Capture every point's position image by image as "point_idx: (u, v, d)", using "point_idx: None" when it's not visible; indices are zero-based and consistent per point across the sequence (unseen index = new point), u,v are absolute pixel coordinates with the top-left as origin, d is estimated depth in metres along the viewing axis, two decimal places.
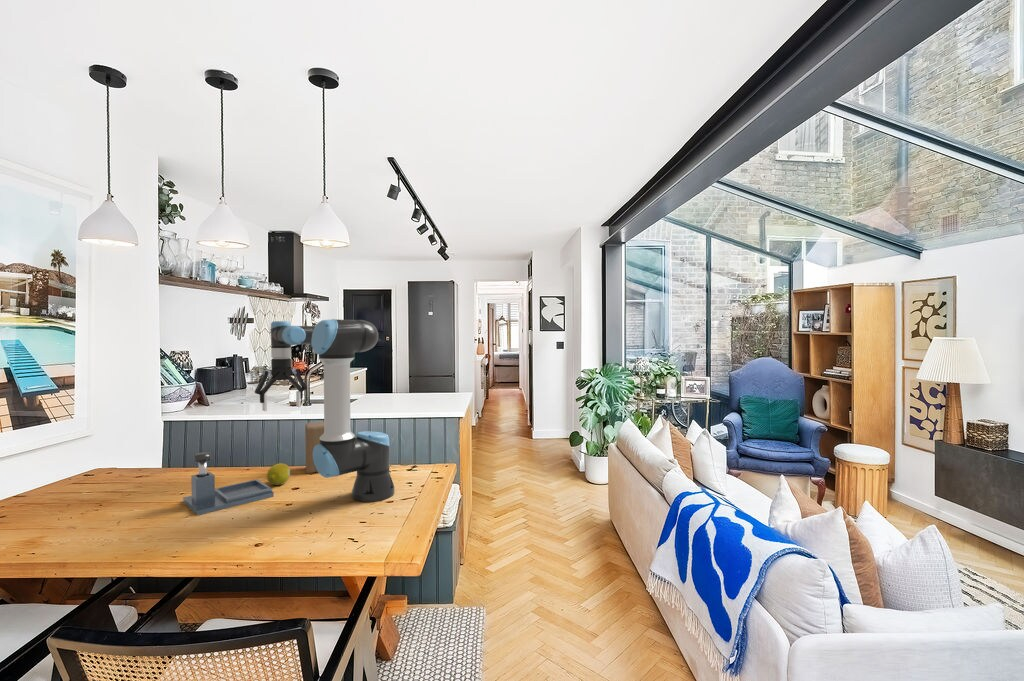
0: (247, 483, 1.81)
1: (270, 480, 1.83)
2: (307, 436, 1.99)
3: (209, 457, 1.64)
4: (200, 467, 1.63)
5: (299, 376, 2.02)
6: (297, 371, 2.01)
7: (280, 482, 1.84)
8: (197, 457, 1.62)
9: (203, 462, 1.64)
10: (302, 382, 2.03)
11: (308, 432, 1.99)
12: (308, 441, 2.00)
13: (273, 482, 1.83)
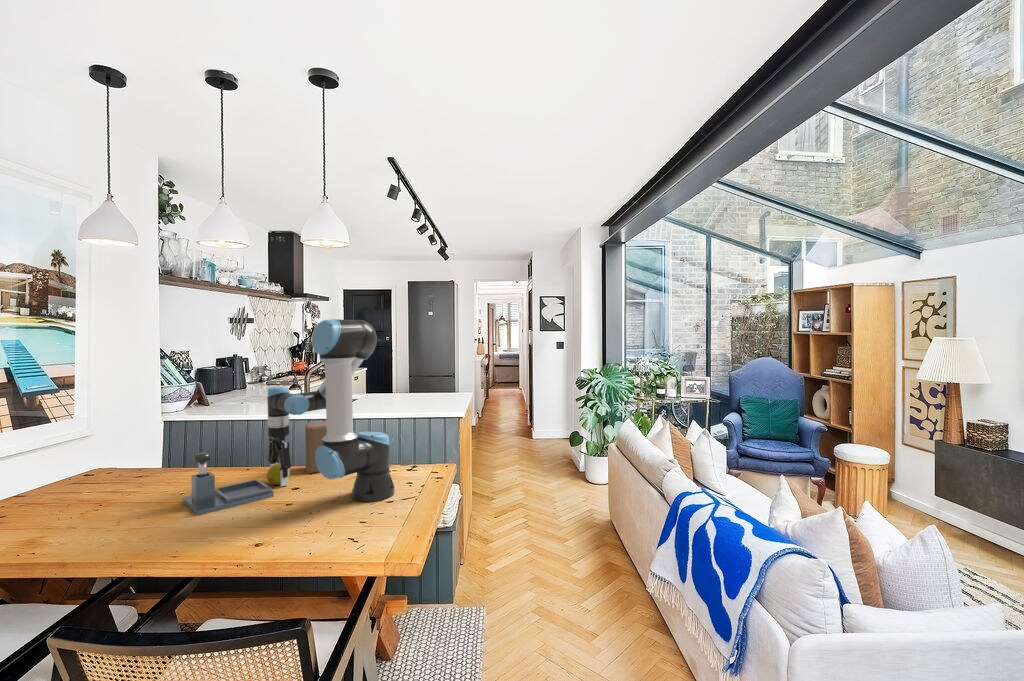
0: (247, 483, 1.81)
1: (270, 480, 1.83)
2: (307, 436, 1.99)
3: (209, 457, 1.64)
4: (200, 467, 1.63)
5: (282, 452, 1.82)
6: (281, 445, 1.82)
7: None
8: (197, 457, 1.62)
9: (203, 462, 1.64)
10: (283, 459, 1.82)
11: (308, 432, 1.99)
12: (308, 441, 2.00)
13: (273, 482, 1.83)
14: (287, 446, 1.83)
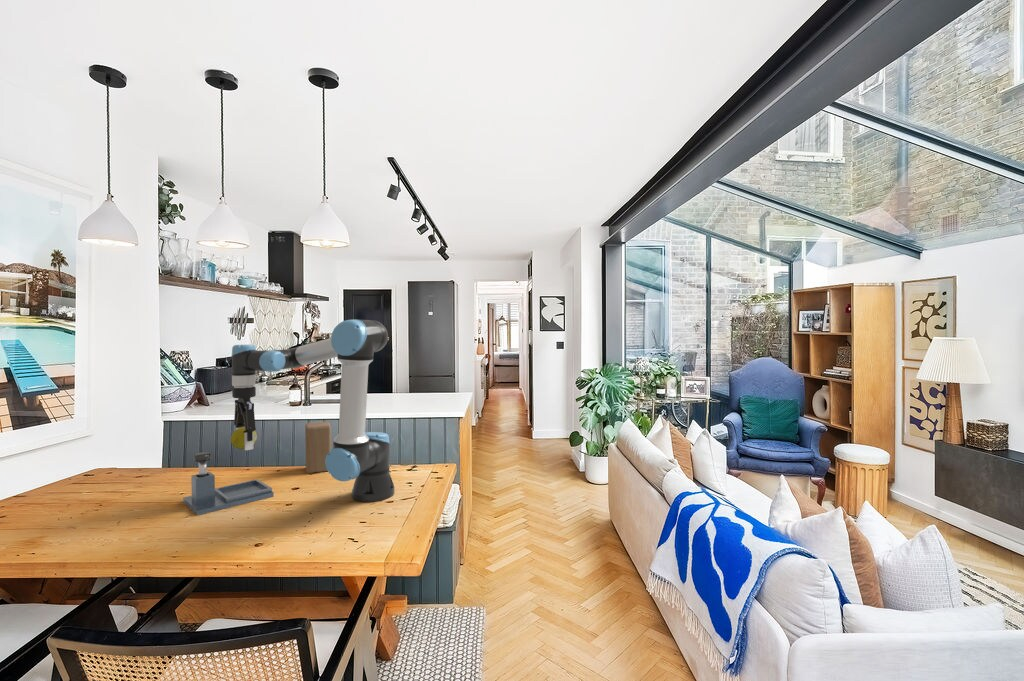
0: (247, 483, 1.81)
1: (234, 443, 1.70)
2: (307, 436, 1.99)
3: (209, 457, 1.64)
4: (200, 467, 1.63)
5: (246, 413, 1.69)
6: (246, 406, 1.69)
7: (244, 446, 1.72)
8: (197, 457, 1.62)
9: (203, 462, 1.64)
10: (247, 421, 1.69)
11: (308, 432, 1.99)
12: (308, 441, 2.00)
13: (237, 446, 1.71)
14: (252, 407, 1.70)
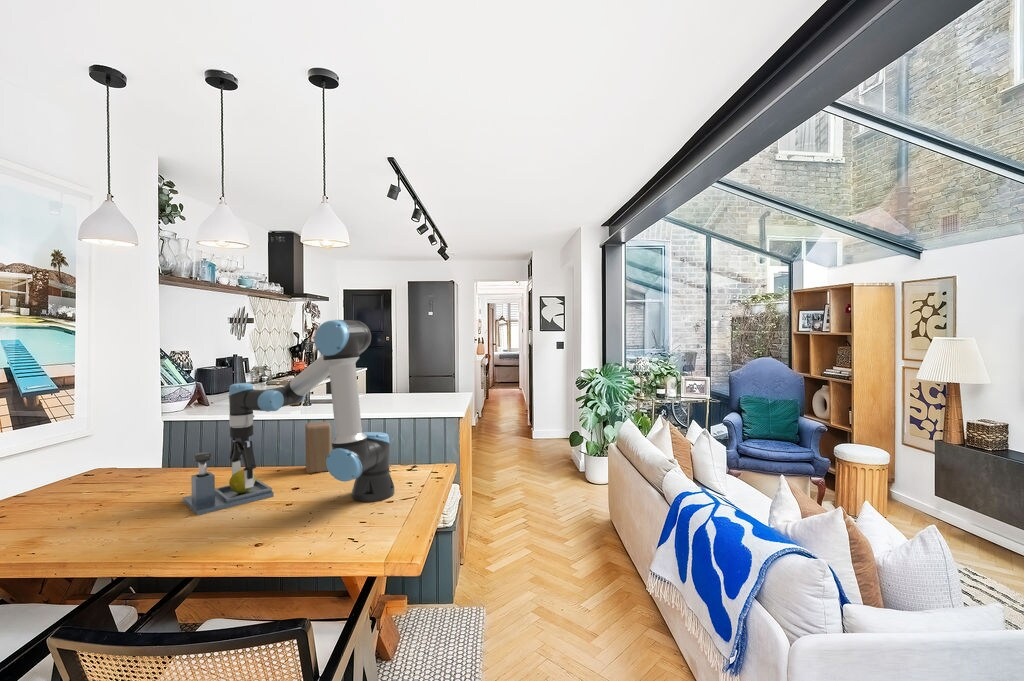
0: None
1: (232, 488, 1.70)
2: (307, 436, 1.99)
3: (209, 457, 1.64)
4: (200, 467, 1.63)
5: (245, 451, 1.68)
6: (244, 445, 1.69)
7: (243, 490, 1.71)
8: (197, 457, 1.62)
9: (203, 462, 1.64)
10: (246, 459, 1.67)
11: (308, 432, 1.99)
12: (308, 441, 2.00)
13: (235, 490, 1.70)
14: (250, 445, 1.69)
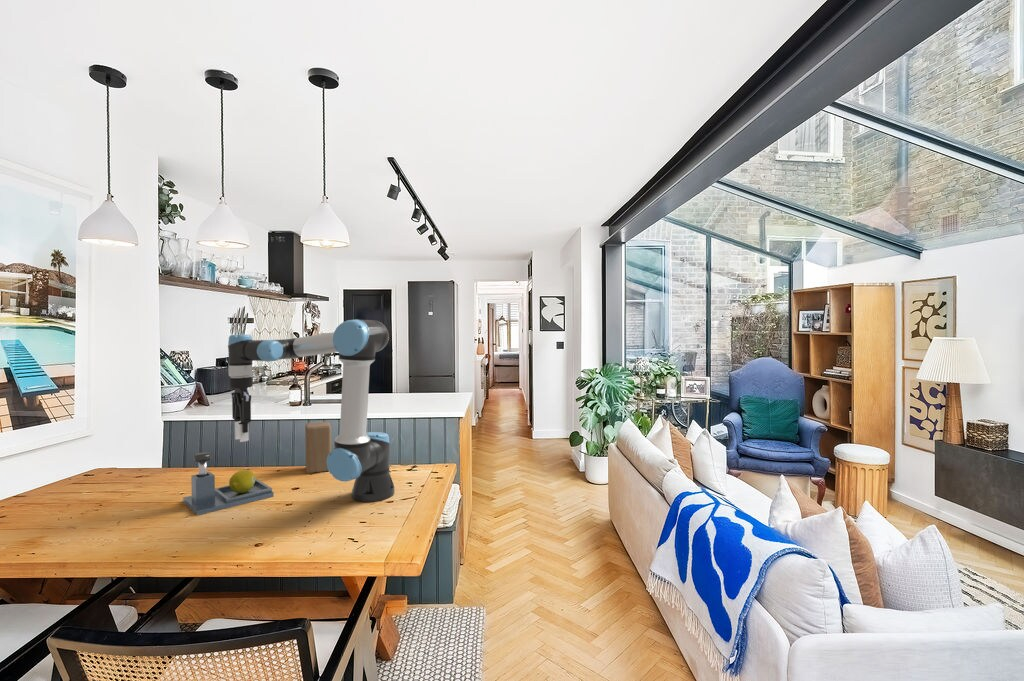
0: None
1: (232, 488, 1.70)
2: (307, 436, 1.99)
3: (209, 457, 1.64)
4: (200, 467, 1.63)
5: (242, 405, 1.69)
6: (242, 398, 1.68)
7: (243, 490, 1.71)
8: (197, 457, 1.62)
9: (203, 462, 1.64)
10: (243, 413, 1.69)
11: (308, 432, 1.99)
12: (308, 441, 2.00)
13: (235, 490, 1.70)
14: (249, 399, 1.69)
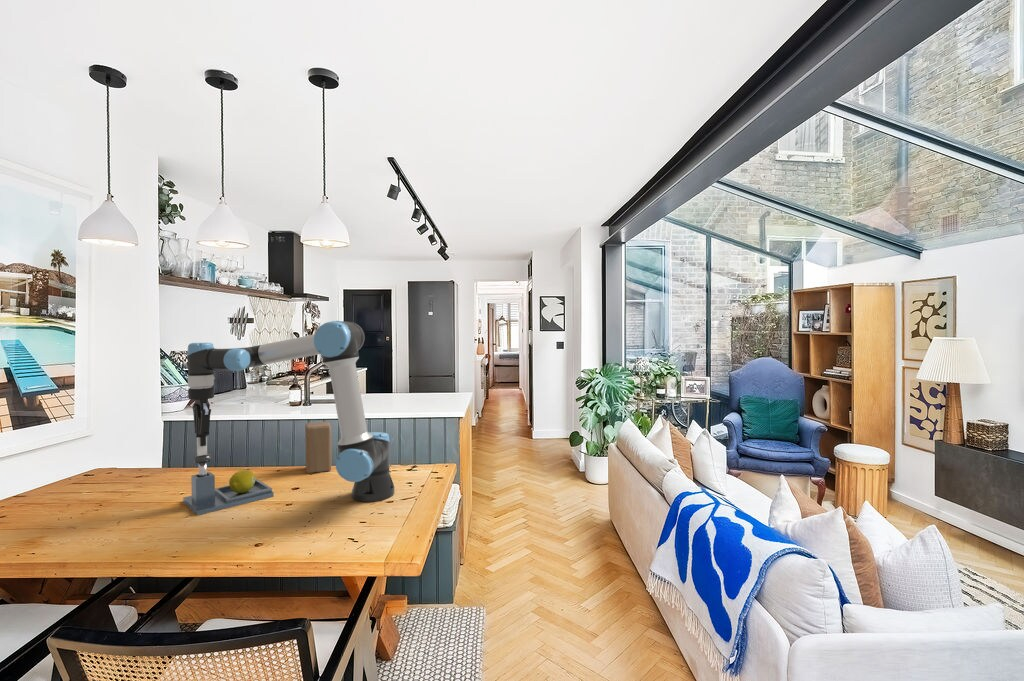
0: None
1: (232, 488, 1.70)
2: (307, 436, 1.99)
3: (209, 459, 1.65)
4: (200, 469, 1.63)
5: (201, 418, 1.60)
6: (201, 412, 1.60)
7: (243, 490, 1.71)
8: (197, 459, 1.62)
9: (203, 464, 1.64)
10: (201, 426, 1.61)
11: (308, 432, 1.99)
12: (308, 441, 2.00)
13: (235, 490, 1.70)
14: (208, 413, 1.61)
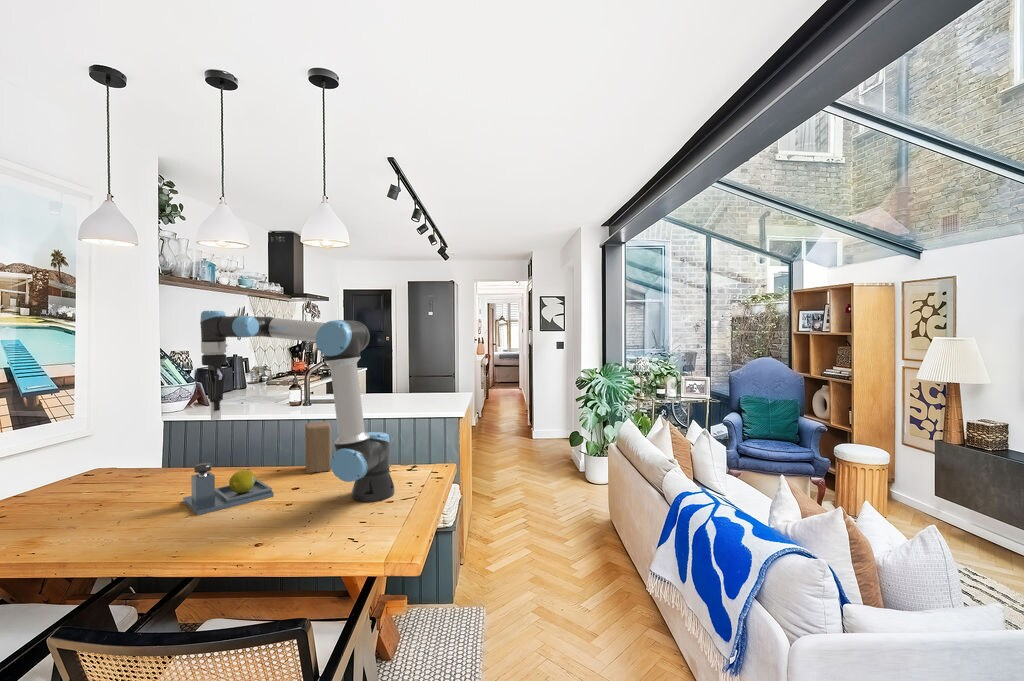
0: None
1: (232, 488, 1.70)
2: (307, 436, 1.99)
3: (209, 468, 1.65)
4: None
5: (215, 383, 1.66)
6: (216, 377, 1.65)
7: (243, 490, 1.71)
8: (197, 468, 1.62)
9: (203, 473, 1.64)
10: (215, 391, 1.66)
11: (308, 432, 1.99)
12: (308, 441, 2.00)
13: (235, 490, 1.70)
14: (222, 378, 1.66)
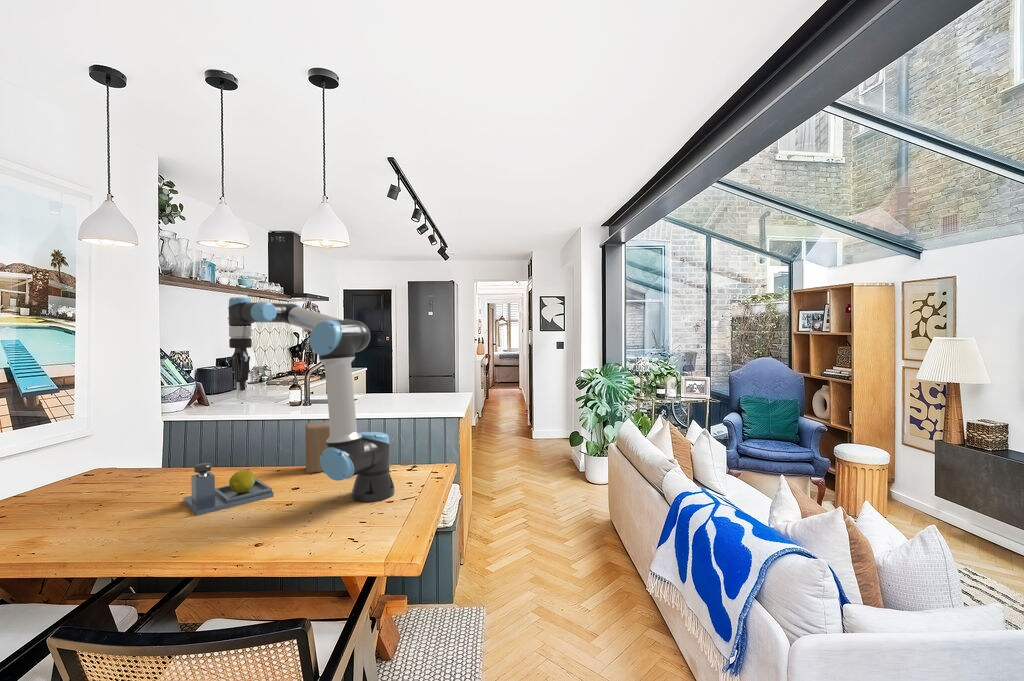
0: None
1: (232, 488, 1.70)
2: (307, 436, 1.99)
3: (209, 468, 1.65)
4: None
5: (241, 364, 1.79)
6: (242, 358, 1.78)
7: (243, 490, 1.71)
8: (197, 468, 1.62)
9: (203, 473, 1.64)
10: (241, 371, 1.79)
11: (308, 432, 1.99)
12: (308, 441, 2.00)
13: (235, 490, 1.70)
14: (247, 360, 1.79)
